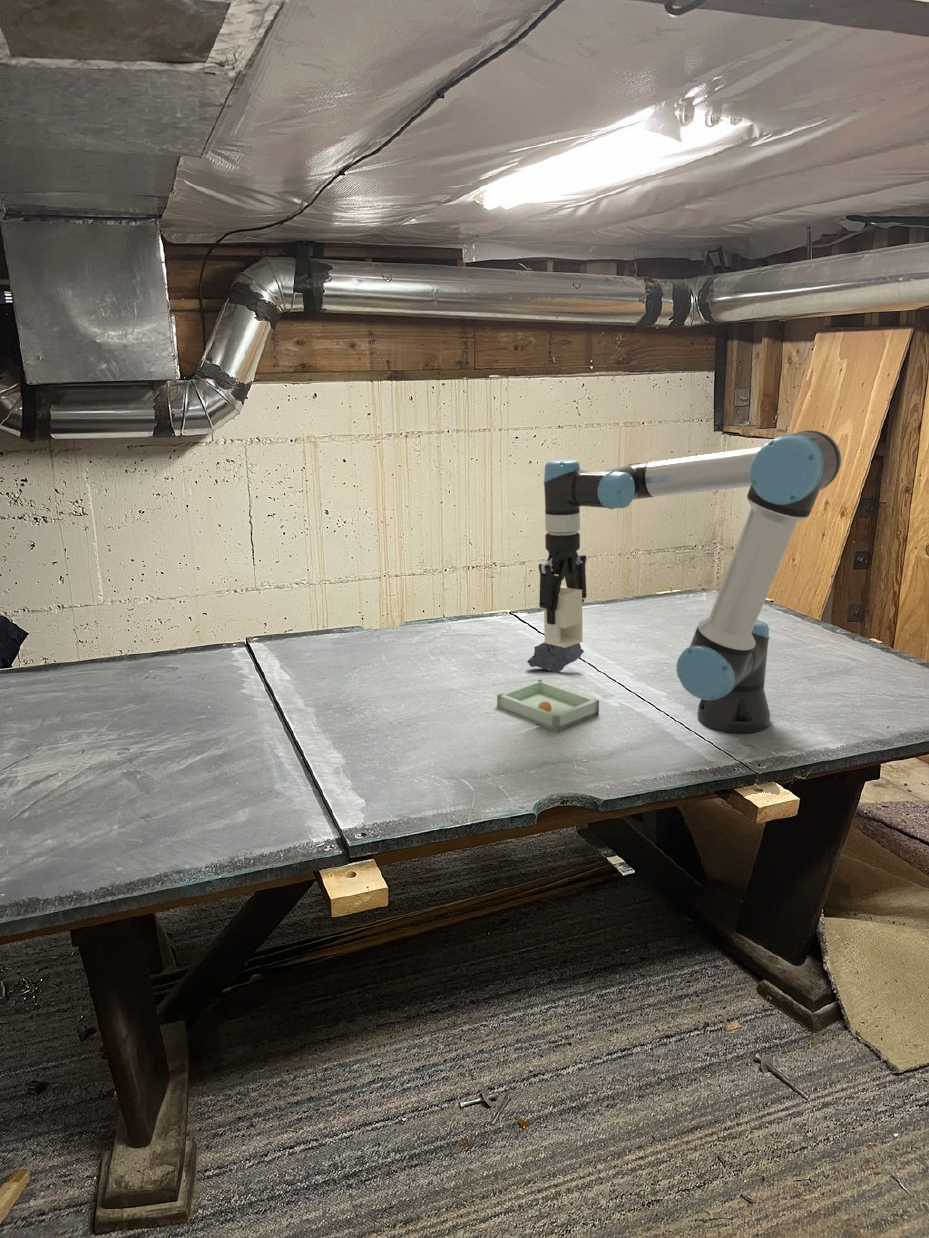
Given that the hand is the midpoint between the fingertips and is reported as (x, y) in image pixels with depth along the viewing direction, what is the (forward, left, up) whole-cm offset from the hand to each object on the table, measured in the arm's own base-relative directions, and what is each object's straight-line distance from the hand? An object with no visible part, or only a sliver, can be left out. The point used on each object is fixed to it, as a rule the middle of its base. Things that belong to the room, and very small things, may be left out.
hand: (563, 633), depth 201 cm
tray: (-1, +6, -17) cm, 18 cm away
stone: (+16, -15, -17) cm, 28 cm away
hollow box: (0, 0, -2) cm, 2 cm away
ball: (-3, +9, -16) cm, 18 cm away
